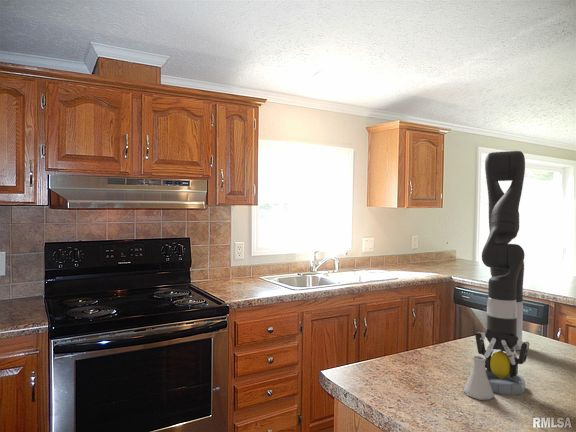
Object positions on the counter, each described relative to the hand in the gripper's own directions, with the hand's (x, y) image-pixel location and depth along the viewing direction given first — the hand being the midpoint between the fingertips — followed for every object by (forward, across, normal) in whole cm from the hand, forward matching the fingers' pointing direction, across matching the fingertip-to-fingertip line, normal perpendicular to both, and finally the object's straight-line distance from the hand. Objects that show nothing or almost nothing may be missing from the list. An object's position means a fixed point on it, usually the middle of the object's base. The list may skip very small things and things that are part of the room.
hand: (500, 373), depth 115 cm
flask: (+4, +2, +11) cm, 11 cm away
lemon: (+2, 0, 0) cm, 2 cm away
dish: (+3, 0, 0) cm, 3 cm away
